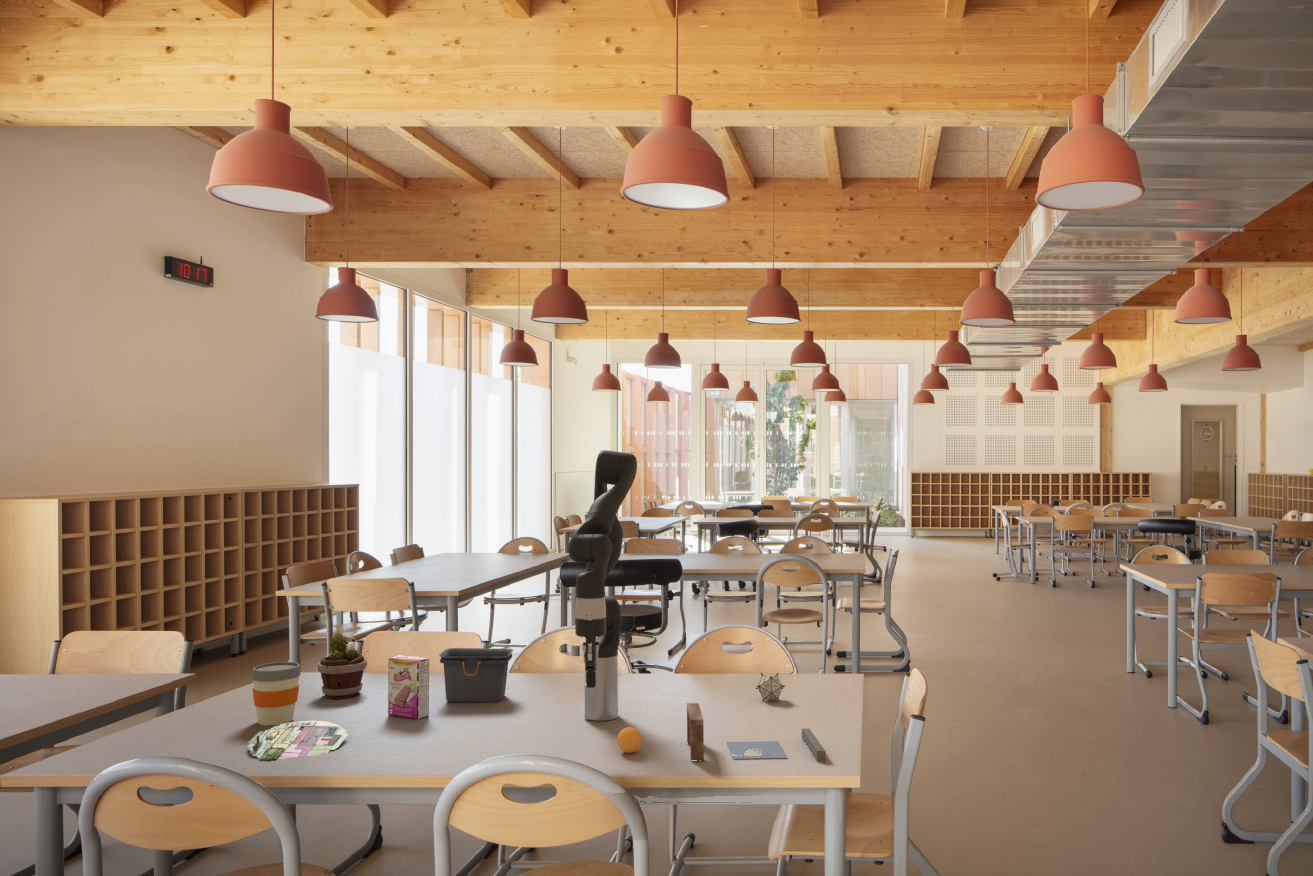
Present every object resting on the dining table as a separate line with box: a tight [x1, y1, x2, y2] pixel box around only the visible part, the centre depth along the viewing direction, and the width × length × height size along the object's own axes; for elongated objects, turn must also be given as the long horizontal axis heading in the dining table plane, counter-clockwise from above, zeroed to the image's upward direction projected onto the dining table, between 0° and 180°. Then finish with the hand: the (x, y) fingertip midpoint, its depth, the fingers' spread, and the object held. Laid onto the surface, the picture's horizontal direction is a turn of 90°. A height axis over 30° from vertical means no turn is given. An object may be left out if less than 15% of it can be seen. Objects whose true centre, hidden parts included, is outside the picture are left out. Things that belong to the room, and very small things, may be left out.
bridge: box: [686, 702, 705, 762], centre depth 210 cm, size 3×15×10 cm, turn 2°
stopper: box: [801, 728, 826, 762], centre depth 210 cm, size 2×18×2 cm, turn 2°
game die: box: [755, 672, 786, 702], centre depth 257 cm, size 9×8×10 cm
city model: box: [247, 720, 349, 761], centre depth 216 cm, size 25×23×6 cm
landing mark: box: [726, 740, 788, 760], centre depth 210 cm, size 13×13×1 cm
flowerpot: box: [316, 631, 368, 700], centre depth 268 cm, size 14×15×20 cm
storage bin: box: [438, 647, 514, 703], centre depth 261 cm, size 21×16×14 cm
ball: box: [616, 726, 643, 754], centre depth 209 cm, size 6×6×6 cm
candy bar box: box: [387, 654, 430, 720], centre depth 244 cm, size 11×5×16 cm, turn 65°
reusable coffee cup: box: [251, 661, 302, 726], centre depth 240 cm, size 12×12×15 cm
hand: (591, 687), depth 210 cm, fingers closed
